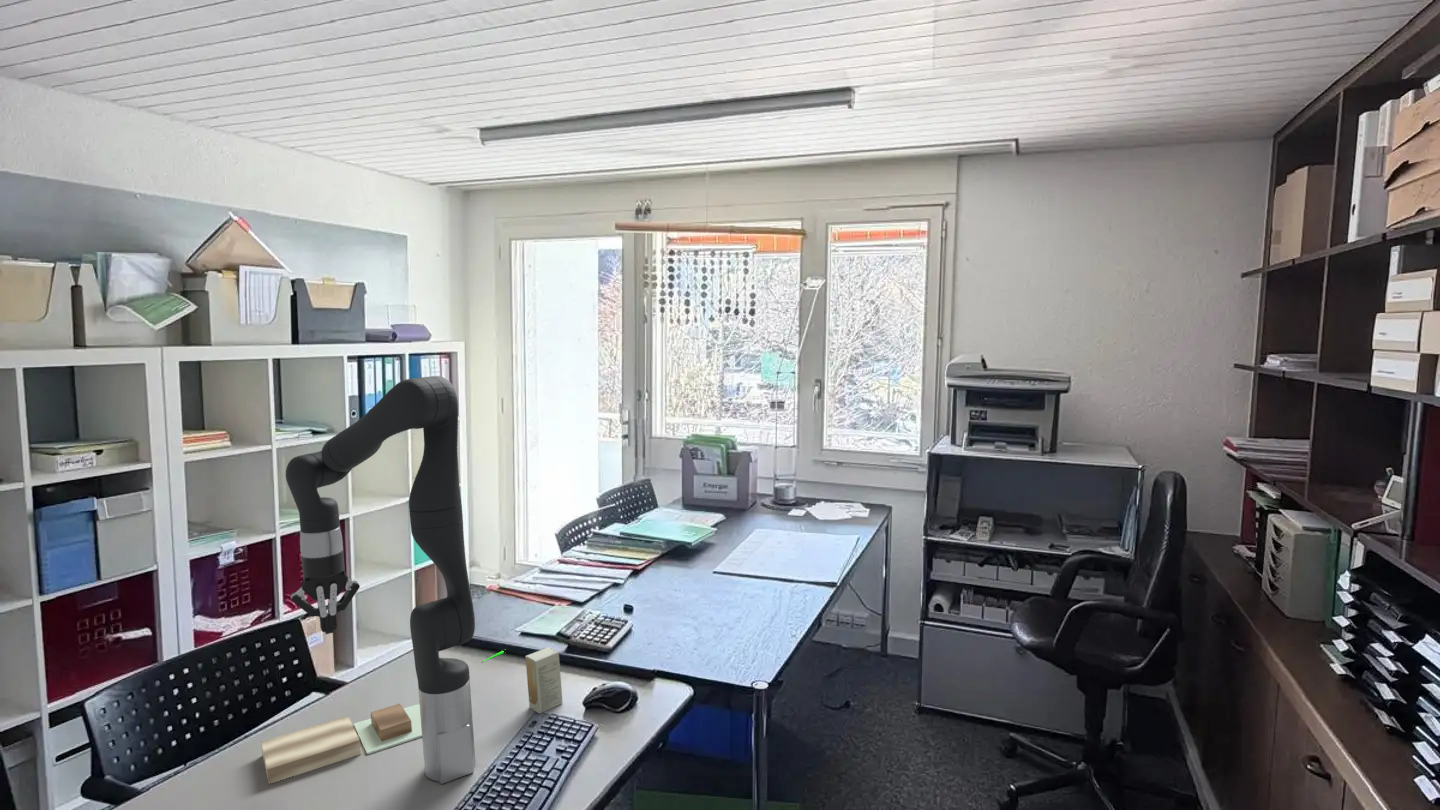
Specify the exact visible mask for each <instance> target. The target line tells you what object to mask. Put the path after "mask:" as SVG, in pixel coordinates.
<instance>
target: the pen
mask: <svg viewBox="0 0 1440 810" xmlns="http://www.w3.org/2000/svg"><path fill="white" fill-rule="evenodd" d="M503 654H505V653H504V651H503V650H501V651H499V652H497V653H495V654H494V655H491V656H490V657H488V658H486V659H485V660H483V661H482V663H483V662H486V661H488V660H491V659H493V658H496V657H498V656H500V655H503Z"/></svg>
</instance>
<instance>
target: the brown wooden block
mask: <svg viewBox="0 0 1440 810" xmlns="http://www.w3.org/2000/svg"><path fill="white" fill-rule="evenodd" d="M370 719H371V723H372V725H373V727H374V729H375V731H376V732H377V734H378V736H379V738H380V740H381V742H382V741H385V740H388V739H391V738H394V737H397V736H400V735H403V734H406V733H409V732H412V725H411V719H410V718H409V716H408V715H407V713H406V712H405V710H404V708H403V706H402V704H401V703H396V704H394V705H391V706H388V707H384V708H381V709H378V710H374V711H370Z"/></svg>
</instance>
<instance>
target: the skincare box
mask: <svg viewBox="0 0 1440 810" xmlns="http://www.w3.org/2000/svg"><path fill="white" fill-rule="evenodd" d="M559 653H560V652H559V651H558V650H556V649H553V648H552V647H549V646H547V647H544V648H541V649H540V650H537V651H534V652H532V653H529V654H527V655H525V665H526V666H525V667H526V668H525V669H526V680H527V691H528V704H529V708H530V709H531V710H533V711H534V712H536V713H538V714H541V713H544V712H547V711H548V710H552V709H553V708H554V707H557V706H559V705H561V704H563V691H562V690H563V689H562V679H561V666H560V664H561V663H560V654H559Z"/></svg>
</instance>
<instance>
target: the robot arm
mask: <svg viewBox="0 0 1440 810" xmlns="http://www.w3.org/2000/svg"><path fill="white" fill-rule="evenodd" d="M420 429H423V430H422V431H423V443H424V445H423V454H422V457H421V458H422V459H421V462H420V466H419V467H418V470H417V473H416V475H415V478H414V481H413V484H412V486H411V490H410V493H409V498H408V511H409V521H410V522H409V523H410V530H411V531H410V533H411V535H412V538H413V540H414V542H415V543H416V544H417V546H418V548H420V549H421V551H422V552H423V553H424V554H425V555H426V556H427V557H428V558H429V560H431V561H432V562H433V564H434V565H435V566H436V568H437V569H438V570H439V572H440V573H441V575H442V577H443V580H444V583H445V587H446V597H444V598H439V599H436V600H433V601H429V602H426V603H421V604H420V605H417V606H415V607H414V608H413V609H412V611H411V614H410V617H409V629H410V635H411V636H410V638H411V643H412V650H413V656H414V667H415V668H414V669H415V673H416V678H417V687H418V699H419V701H418V702H419V704H420V716H421V728H422V737H421V739H422V740H421V741H422V750H423V751H422V753H423V761H424V774H425V776H426V778H428V779H429V780H432V781H434V782H435V781H436V782H439V783H440V784H441V785H442V784H445V783H448V782H451V781H453V780H457V779H459V778H462V777H464V776H467V775H470V774H473V773H474V772H475V769H474V767H475V766H476V762H477V761H476V748H475V735H474V723H473V721H474V720H473V711H472V710H473V709H472V694H471V679H470V667H469V665H468V663H467V662H465V661H464V660H462V659H458V658H449V657H440V654H439V653H440V652H441V651H445V650H448V649H451V648H454V647H457V646H460V645H463V644H465V643H468V642H469V641H471V640H472V639H473V637H474V634H475V631H476V617H475V610H474V609H475V608H474V603H473V597H472V592H471V586H470V581H469V579H470V578H469V573H468V569H467V568H468V567H467V561H466V559H467V557H466V549H465V538H464V537H465V536H464V533H465V531H464V516H463V505H462V496H461V488H460V474H459V455H458V454H459V453H458V438H459V437H458V434H459V403H458V396H457V393H456V390H455V387H454V386H453V384H452V383H451V382H450V380H448V379H447V378H445V377H443V376H439V375H437V376H436V375H434V376H433V375H432V376H423V377H422V376H421V377H415V378H414V377H412V378H407V379H403V380H401V381H400V382H398V383H396V384H395V385H394V386H393V387H391V389H390V390H389V391H387V392H386V393H385V395H383V397H382V398H381V399H380V400H378V402H376V403H375V404H374V406H372V407H371V408H370V410H369V411H367V413H365V414H364V415H362V417H361V418H359V419H358V420H356V421H355V422H354V423H352V424H351V425H350V426H348V427H346V428H345V429H343V430H342V431H340V432H338V433H337V434H336V435H334V436H333V437H331V438H330V439H328V441H326V442H325V443H324V445H323V446H322V448H321V450H319V451H316V452H310V453H306V454H301V455H297V456H294V457H292V458H291V459H290V461H289V462H288V464H287V466H286V468H285V480H286V483H287V486H288V488H289V490H290V492H291V495H292V498H293V501H294V503H295V505H296V507H297V510H298V513H299V515H298V516H299V528H300V541H299V542H300V548H299V551H300V556H301V565H302V567H301V568H302V581H301V584H300V587H299V589H297V591H296V592H292V593H291V594H290V599H291V601H292V602H293V603H294V604H296V606H298V607H299V608H300V609H302V610H303V612H305V613H307V614H308V615H309V616H310V617H312V618H314V617H318V618H319V627H320V630H321V632H322V633H324V634H325V635H329V634H333V633H334V632H335V631H334V630H337V627H338V623H337V614H338V612H340V611H341V612H342V611H345V610H346V608H347V607H348V605H349V604H350V602H351V601H352V599H353V598H354V597H355V595H356V593H357V592H358V590H359V589H360V586H361V585H360V584H359V582H358V581H357V580H353V579H350V578H349V576H348V574H347V573H346V570H345V569H346V568H345V566H346V565H345V555H344V545H343V544H344V541H343V535H342V534H343V533H342V530H341V525H340V524H341V523H340V510H339V505H338V501H337V500H336V499H334V498H332V497H324V496H323V497H321V496H320V493H319V491H318V489H320V488H322V487H327V486H330V485H333V484H336V483H337V482H340V481H342V480H343V479H344V478H345V477H347V475H348V474H349V473H350V472H351V471H352V470H353V469H354V468H356V467H358V466H359V465H360V464H361V463H364V462H365V461H367V460H368V459H369V458H372V456H374V455H375V454H376V453H377V452H378V451H379V450H380V448H381V446H382V444H383V443H384V442H385V441H386V440H387V439H388V438H390V437H393V436H395V435H398V434H400V433H403V432H406V431H409V430H420ZM344 588H345V592H344V593H343V594H342V596H341V597H340V599H339V600H338V599H337V598H338V596H339V595H340V594H341V593H342V592H343V589H344ZM305 593H306V594H307V595H308V596H309V597H310V598H311V599H312V600H314V601H316V604H317V607H315V606H314V605H312V604H311V603H309V601H307V600H306V595H305ZM326 600H327V603H326ZM337 600H338V601H337ZM326 604H327V605H326Z"/></svg>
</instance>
